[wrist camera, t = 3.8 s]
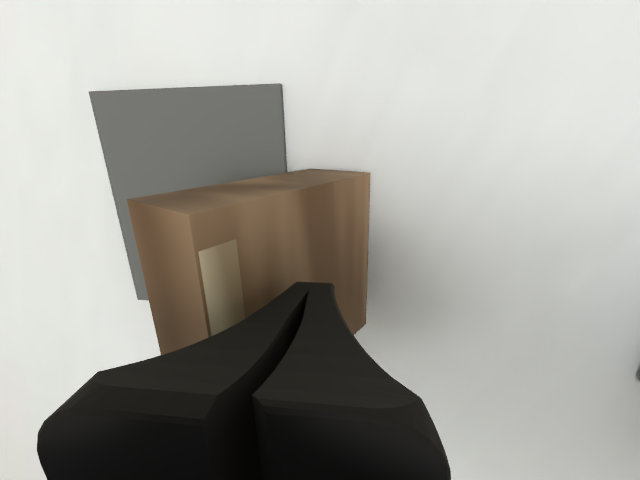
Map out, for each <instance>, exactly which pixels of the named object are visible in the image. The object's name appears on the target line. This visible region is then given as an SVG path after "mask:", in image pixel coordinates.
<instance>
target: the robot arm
mask: <svg viewBox="0 0 640 480" xmlns="http://www.w3.org/2000/svg"><path fill="white" fill-rule="evenodd" d="M37 452H38V456H39V459H40V463H41V466H42V468H43V470H44V473H45V475H46V477H47V480H451V473H450V467H449V463H448V460H447V456H446V453H445V450H444V447H443V445H442V442H441V440H440V437H439V435H438V432H437V430H436V428H435V425H434V423H433V421H432V419H431V417H430V415H429V413H428V410H427V408H426V406H425V404H424V403H423V401H422V399H421V398H420V397H419V396H417V395H416V394H415V393H413V392H412V391H410V390H409V389H408V388H406V387H405V386H403V385H402V384H400V383H399V382H398V381H396V380H395V379H393V378H392V377H391V376H390V375H389V374H387V373H386V372H385V371H384V370H383V369H382V368H381V367H380V366H379V365H378V364H377V363H376V362H375V361H374V360H373V359H372V358H371V357H370V356H369V355H368V354H367V353H366V351H365V350H364V349H363V348H362V346H361V345H360V344H359V343H358V341H357V340H356V338H355V337H354V335H353V334H352V332H351V331H350V329H349V327H348V326H347V324H346V322H345V320H344V318H343V316H342V314H341V312H340V309H339V307H338V304H337V301H336V298H335V286H334V285H333V284H332V283H319V282H296V283H294V284H293V285H292V286H290V287H289V288H288V289H286V290H285V291H284V292H283V293H281V294H280V295H279V296H277V297H276V298H275V299H273V300H272V301H271V302H269V303H268V304H267V305H265V306H264V307H262V308H261V309H259V310H258V311H256V312H255V313H253V314H252V315H250V316H249V317H247V318H246V319H244V320H242V321H240V322H239V323H237V324H235V325H233V326H231V327H230V328H228V329H226V330H224V331H222V332H220V333H218V334H215V335H213V336H211V337H208V338H206V339H204V340H201V341H199V342H197V343H194V344H192V345H190V346H187V347H184V348H181V349H179V350H176V351H173V352H170V353H167V354H164V355H161V356H157V357H154V358H151V359H147V360H144V361H140V362H136V363H132V364H128V365H124V366H120V367H116V368H112V369H108V370H104V371H99V372H97V373H96V374H95V375H94V376H93V377H92V378H91V379H90V380H89V381H88V382H86V383H85V384H84V385H83V386H82V387H81V388H80V389H79V390H78V391H77V392H76V393H74V394H73V395H72V396H71V397H70V398H69V399H68V400H67V401H66V402H65V403H64V404H63V405H61V406H60V407H59V408H58V409H57V410H56V411H55V412H54V413H53V414H52V415H51V416H50V417H48V418H47V419H46V420H45V421H44V423H43V425H42V426H41V428H40V430H39V432H38V441H37Z"/></svg>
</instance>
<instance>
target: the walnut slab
mask: <svg viewBox="0 0 640 480" xmlns="http://www.w3.org/2000/svg"><path fill="white" fill-rule="evenodd" d="M369 198H370V173H364V172H350V171H335V170H320V169H307V170H301V171H295V172H289V173H282V174H276V175H270V176H264V177H258V178H252V179H246V180H240V181H234V182H228V183H222V184H216V185H210V186H204V187H197V188H191V189H185V190H179V191H173V192H167V193H161V194H155V195H149V196H143V197H137V198H131V199H126V200H127V204H128V209H129V213H130V218H131V222H132V226H133V231H134V235H135V240H136V244H137V249H138V253H139V258H140V262H141V267H142V271H143V276H144V280H145V285H146V289H147V294H148V298H149V303H150V307H151V311H152V316H153V320H154V325H155V329H156V334H157V338H158V343H159V347H160V352H161V355H164V354H167V353H170V352H173V351H176V350H179V349H181V348H184V347H187V346H190V345H192V344H194V343H197V342H199V341H201V340H204V339H206V338H208V337H211V336H213V335H215V334H218V333H220V332H222V331H224V330H226V329H228V328H230V327H231V326H233V325H235V324H237V323H239V322H240V321H242V320H244V319H246V318H247V317H249V316H250V315H252V314H253V313H255V312H256V311H258V310H259V309H261V308H262V307H264V306H265V305H267V304H268V303H269V302H271V301H272V300H273V299H275V298H276V297H277V296H279V295H280V294H281V293H283V292H284V291H285V290H286V289H288V288H289V287H290V286H292V285H293V284H294V283H296V282H319V283H332V284H333V285H334V286H335V298H336V301H337V304H338V307H339V309H340V312H341V314H342V316H343V318H344V320H345V322H346V324H347V326H348V327H349V329H350V331H351V332H352V334H353V335H354V334H355V333H356V332H357V331H358V330H360V329H361V328H362V327H363V326H364V325H365V324H366V299H367V265H368V232H369Z"/></svg>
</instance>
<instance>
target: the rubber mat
mask: <svg viewBox="0 0 640 480" xmlns="http://www.w3.org/2000/svg"><path fill="white" fill-rule="evenodd" d="M89 95H90V99H91V103H92V108H93V112H94V116H95V120H96V125H97V129H98V133H99V137H100V142H101V146H102V150H103V154H104V159H105V163H106V167H107V171H108V176H109V180H110V184H111V188H112V192H113V197H114V201H115V205H116V209H117V214H118V218H119V222H120V226H121V231H122V235H123V239H124V243H125V248H126V252H127V256H128V260H129V265H130V269H131V273H132V277H133V281H134V286H135V290H136V294H137V298H138V300H149V298H148V294H147V289H146V285H145V280H144V276H143V271H142V267H141V262H140V258H139V253H138V249H137V244H136V240H135V235H134V231H133V226H132V222H131V218H130V213H129V209H128V204H127V200H126V199H131V198H137V197H143V196H149V195H155V194H161V193H167V192H173V191H179V190H185V189H191V188H197V187H204V186H210V185H216V184H222V183H228V182H234V181H240V180H246V179H252V178H258V177H264V176H270V175H276V174H282V173H287V165H286V147H285V129H284V110H283V92H282V84H258V85H234V86H210V87H186V88H163V89H139V90H115V91H91V92H89Z"/></svg>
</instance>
